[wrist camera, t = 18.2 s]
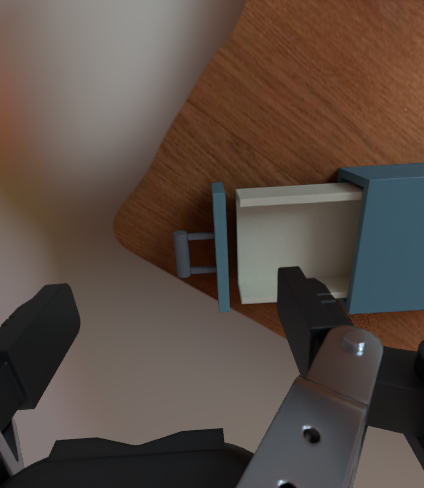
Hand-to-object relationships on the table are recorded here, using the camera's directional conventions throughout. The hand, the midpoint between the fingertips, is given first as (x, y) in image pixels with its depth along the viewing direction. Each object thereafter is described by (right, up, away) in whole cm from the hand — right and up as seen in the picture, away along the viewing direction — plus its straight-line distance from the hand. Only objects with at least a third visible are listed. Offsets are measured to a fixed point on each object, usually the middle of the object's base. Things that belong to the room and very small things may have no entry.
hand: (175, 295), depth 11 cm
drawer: (+9, +3, +23) cm, 25 cm away
